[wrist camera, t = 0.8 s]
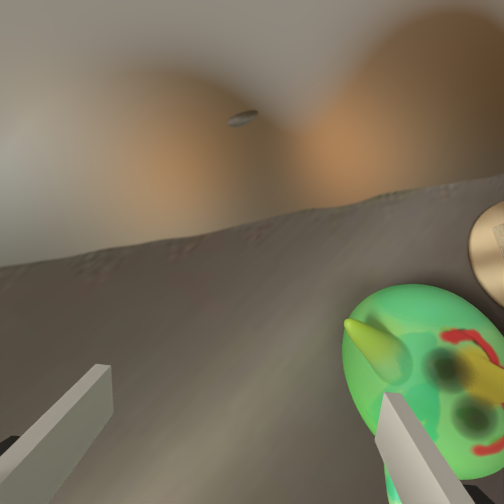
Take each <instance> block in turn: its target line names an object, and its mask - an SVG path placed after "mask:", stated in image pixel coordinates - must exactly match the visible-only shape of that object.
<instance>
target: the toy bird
mask: <svg viewBox="0 0 504 504" xmlns="http://www.w3.org/2000/svg"><path fill="white" fill-rule="evenodd" d="M344 327H345V329H344V334H343V340H342V359H343V367H344V372H345V377H346V381H347V384H348V387H349V390H350V393H351V395H352V398H353V400H354V403H355V405H356V407H357V409H358V411H359V413H360V414H361V416H362V418H363V420H364V421H365V423H366V424H367V426H368V427H369V429H370V430H371V431H372V433H373V434H374V435H375V436H376V431H377V426H378V421H379V415H380V410H381V405H382V400H383V395H384V392H390V393H401V395H402V396H403V398H404V399H405V401H406V402H407V403H408V405H409V406H410V408H411V409H412V411H413V412H414V414H415V415H416V417H417V418H418V420H419V421H420V423H421V424H422V426H423V427H424V429H425V430H426V432H427V433H428V435H429V436H430V438H431V439H432V441H433V442H434V443H435V445H436V446H437V448H438V449H439V451H440V452H441V454H442V455H443V457H444V458H445V460H446V461H447V463H448V464H449V466H450V467H451V469H452V470H453V472H454V473H455V475H456V476H457V478H458V479H459V480H468V479H476V478H481V477H485V476H488V475H491V474H493V473H495V472H497V471H499V470H500V469H502V468H504V337H503V336H502V334H501V333H500V332H499V330H498V329H497V328H496V327H495V326H494V325H493V323H492V322H491V321H490V320H489V319H488V318H487V317H486V316H485V315H484V314H483V313H482V312H480V311H479V310H478V309H477V308H476V307H474V306H473V305H472V304H470V303H469V302H468V301H466V300H465V299H463V298H461V297H459V296H458V295H456V294H454V293H451V292H449V291H447V290H444V289H441V288H438V287H434V286H429V285H423V284H402V285H395V286H391V287H387V288H384V289H382V290H379V291H377V292H375V293H373V294H371V295H370V296H368V297H367V298H365V299H364V300H363V301H362V302H361V303H360V304H359V305H358V306H357V307H356V308H355V309H354V310H353V312H352V313H351V315H350V317H349V318H348V319H346V320H345V321H344ZM384 470H385V480H386V488H387V495H388V500H389V504H402V502H401V500H400V498H399V495H398V493H397V491H396V489H395V486H394V484H393V482H392V479H391V477H390V475H389V473H388V470H387V468H386V466H385V463H384Z"/></svg>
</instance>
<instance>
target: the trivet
mask: <svg viewBox="0 0 504 504" xmlns="http://www.w3.org/2000/svg"><path fill="white" fill-rule="evenodd" d="M503 223H504V201H503V202H500V203H498V204H496V205H494V206H492V207H490V208H488V209H487V210H485V211H484V212H483V213H482V214H481V215H480V216H479V217H478V218H477V220H476V221H475V222H474V224H473V226H472V228H471V231H470V234H469V239H468V255H469V261H470V265H471V268H472V270H473V273H474V275H475V277H476V279H477V281H478V282H479V284H480V285H481V287H482V288H483V290H484V291H485V292H486V293H487V295H488V296H489V297H490V298H491V299H492V300H493V301H494V302H495V303H496V304H498V305H499V306H500V307H502V308H503V309H504V262H503V259H502V256H501V254H500V251H499V248H498V245H497V242H496V239H495V237H494V234H493V231H492V227H495V226H498V225H500V224H503Z"/></svg>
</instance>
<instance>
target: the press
mask: <svg viewBox="0 0 504 504" xmlns="http://www.w3.org/2000/svg"><path fill="white" fill-rule="evenodd" d="M492 231H493V234H494V237H495V239H496V242H497V245H498V248H499V251H500V254H501V256H502V259H503V262H504V223H503V224H500V225H498V226H495V227H492Z"/></svg>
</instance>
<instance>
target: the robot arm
mask: <svg viewBox="0 0 504 504" xmlns="http://www.w3.org/2000/svg"><path fill="white" fill-rule="evenodd" d="M112 415H113V395H112V376H111V365H100V364H95V365H94V366H93V367H92V368H91V369H90V370H89V371H88V372H87V373H86V374H85V375H84V376H83V377H82V378H81V379H80V380H79V381H78V382H77V383H76V384H75V385H74V386H73V387H72V388H71V389H70V390H69V391H67V392H66V393H65V394H64V395H63V396H62V397H61V398H60V399H59V400H58V401H57V402H56V403H55V404H54V405H53V406H52V407H51V408H50V409H49V410H48V411H47V412H46V413H45V414H44V415H43V416H42V417H41V418H40V419H39V420H38V421H37V422H36V423H34V424H33V425H32V426H31V427H30V428H29V429H28V430H27V431H26V432H25V433H24V434H23V435H22V436H10V437H9V438H7V439H6V440H4V441H2V442H1V443H0V504H49V503H50V502H51V500H52V499H53V497H54V496H55V495H56V493H57V492H58V490H59V489H60V488H61V486H62V485H63V483H64V482H65V481H66V479H67V478H68V476H69V475H70V474H71V472H72V471H73V469H74V468H75V467H76V465H77V464H78V462H79V461H80V460H81V458H82V457H83V455H84V454H85V453H86V451H87V450H88V448H89V447H90V446H91V444H92V443H93V441H94V440H95V439H96V437H97V436H98V434H99V433H100V432H101V430H102V429H103V427H104V426H105V425H106V423H107V422H108V420H109V419H110V418H111V416H112ZM375 443H376V445H377V447H378V450H379V452H380V454H381V457H382V459H383V461H384V463H385V466H386V468H387V470H388V473H389V475H390V477H391V479H392V482H393V484H394V486H395V489H396V491H397V493H398V495H399V498H400V500H401V502H402V504H495V503H494V502H493V501H492V500H490V499H489V498H488V497H487V496H486V495H485V494H484V493H483V492H482V491H481V490H480V489H479V488H478V487H477V486H472V485H463V484H462V483H461V482H460V481H459V479H458V478H457V476H456V475H455V473H454V472H453V470H452V469H451V467H450V466H449V464H448V463H447V461H446V460H445V458H444V457H443V455H442V454H441V452H440V451H439V449H438V448H437V446H436V445H435V443H434V442H433V441H432V439H431V438H430V436H429V435H428V433H427V432H426V430H425V429H424V427H423V426H422V424H421V423H420V421H419V420H418V418H417V417H416V415H415V414H414V412H413V411H412V409H411V408H410V406H409V405H408V403H407V402H406V401H405V399H404V398H403V396H402V395H401V393H390V392H384V395H383V400H382V405H381V410H380V415H379V421H378V426H377V431H376V436H375Z"/></svg>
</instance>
